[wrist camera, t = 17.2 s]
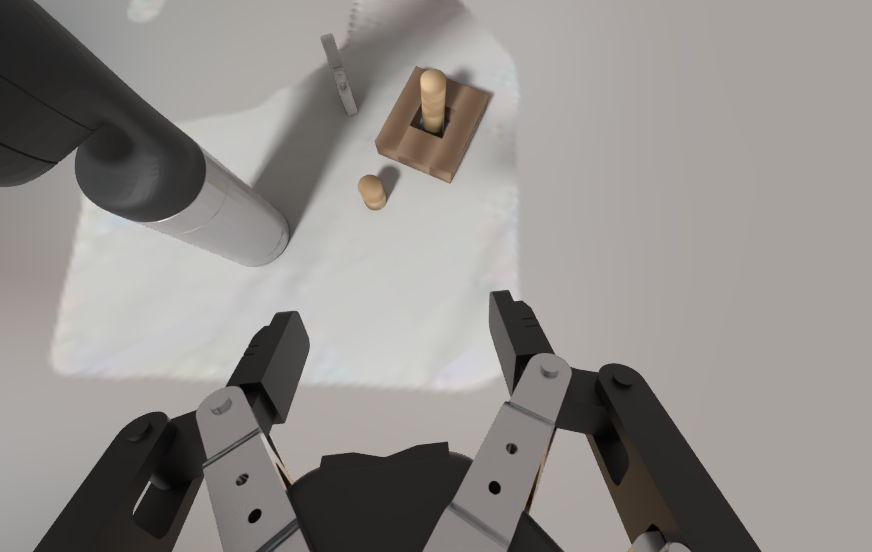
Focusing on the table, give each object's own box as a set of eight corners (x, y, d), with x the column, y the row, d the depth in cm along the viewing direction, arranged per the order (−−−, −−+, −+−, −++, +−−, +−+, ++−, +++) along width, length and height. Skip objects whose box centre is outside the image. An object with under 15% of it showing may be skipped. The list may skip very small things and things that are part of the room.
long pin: (419, 135, 50) (416, 85, 40) (428, 119, 50) (426, 65, 40) (438, 143, 49) (439, 94, 39) (446, 126, 50) (450, 74, 40)
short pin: (361, 205, 47) (353, 191, 43) (370, 186, 48) (364, 171, 43) (380, 213, 47) (375, 200, 43) (390, 195, 48) (385, 180, 43)
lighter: (358, 113, 50) (344, 71, 42) (347, 116, 50) (331, 74, 42) (346, 76, 52) (330, 29, 44) (335, 79, 51) (318, 32, 44)
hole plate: (378, 153, 49) (374, 141, 46) (416, 81, 51) (416, 66, 48) (450, 183, 48) (451, 173, 45) (485, 109, 51) (489, 94, 48)
